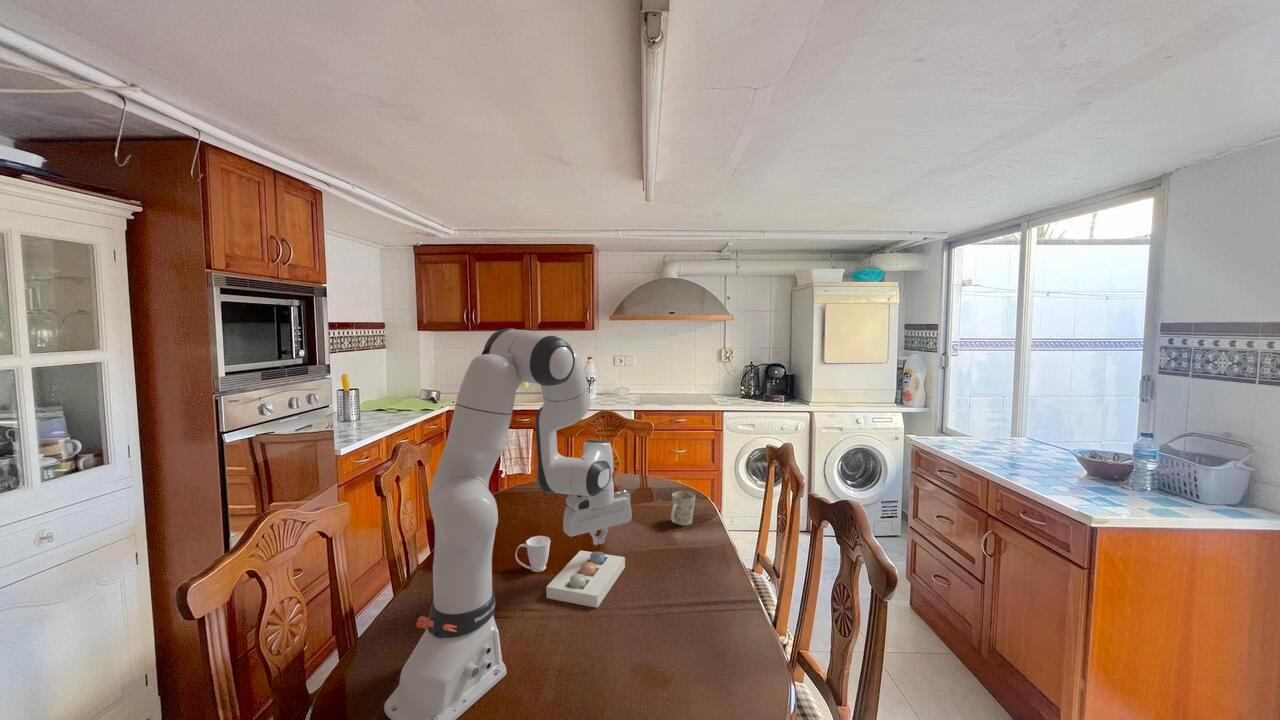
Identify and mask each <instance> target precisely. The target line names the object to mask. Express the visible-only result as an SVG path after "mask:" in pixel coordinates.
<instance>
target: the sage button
mask: <svg viewBox="0 0 1280 720" xmlns="http://www.w3.org/2000/svg"><path fill="white" fill-rule="evenodd" d="M585 586H586V576H585V575H583V574H574V575H572V576H571V577H570V588H576V589H581V590H583V589H584V587H585Z"/></svg>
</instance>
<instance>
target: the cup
mask: <svg viewBox="0 0 1280 720" xmlns="http://www.w3.org/2000/svg"><path fill="white" fill-rule="evenodd" d="M521 547H523V548H526V551H527V556H528V557H527V558H528V560H529V563H530V564H529V565H530V566H529V565H527V564H525V563H523V562H522V561H520V559H519V558H518V550H519V549H520V548H521ZM550 547H551V539H550V538H549V536H543V535H536V536H531V537H530V538H528V539H527V540H526V541H525V543H522V544H519V545H518V546H517V548H516V551H515V555H514V557H515V560H516V562H517V563H518V564H519V565H520V566H522V567H524V568H525V569H528V570H531V571H532V572H534V573H535V572H536V573H540V572H543V571H544V570H546V569H547V563H548V559H549V554H550Z"/></svg>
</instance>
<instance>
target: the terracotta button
mask: <svg viewBox="0 0 1280 720" xmlns="http://www.w3.org/2000/svg"><path fill="white" fill-rule="evenodd" d="M581 574H583V575H585V576H591V577H593V576H594V575H595V564H594V563H592V562H585V563H583V564H581Z"/></svg>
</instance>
